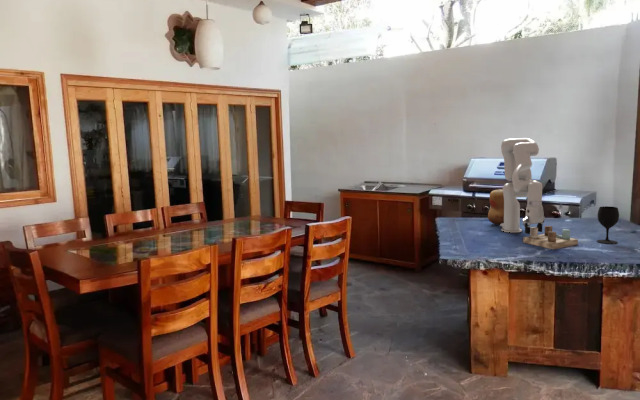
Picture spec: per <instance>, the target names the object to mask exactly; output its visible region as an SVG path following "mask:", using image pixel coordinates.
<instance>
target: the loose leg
mask: <svg viewBox="0 0 640 400" xmlns="http://www.w3.org/2000/svg"><path fill="white" fill-rule="evenodd" d="M538 235H539V231H538V227H537V226H532V227H531V226H530V234H529V236H530V238H531V239H538Z"/></svg>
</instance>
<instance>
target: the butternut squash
mask: <svg viewBox="0 0 640 400" xmlns="http://www.w3.org/2000/svg"><path fill="white" fill-rule="evenodd" d="M489 205H490V206H489V207H490V208H489V210H488V214H487V219H488V221H489V222H491V223H492V224H493V225H495V224H497V225H496V226H500V225H499V224H501V223H504V196H503V188H502V189H500V188H499V189H494V190H492V191H491V192H490V193H489Z"/></svg>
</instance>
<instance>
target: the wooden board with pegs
mask: <svg viewBox="0 0 640 400" xmlns="http://www.w3.org/2000/svg"><path fill="white" fill-rule="evenodd" d="M556 234H557V232H556V231H553V226H551V225H545V226H544V233H543V234H538V239H531V238H530V235H529V236H523V237H522V238H523V239H522V243H524V244H529V245H532V246H538V247H541V248H546V249H550V250H557V249H561V248H567V247H571V246H573V247H574V246H577V245H579V244H578V243H579V239H578V238H574V237H572V238H571V237H570V239H562V238H559V237H556Z"/></svg>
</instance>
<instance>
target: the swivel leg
mask: <svg viewBox="0 0 640 400" xmlns="http://www.w3.org/2000/svg"><path fill="white" fill-rule="evenodd" d="M561 232H562V233H561V234H558V233H556V237H559V238H562V239H570V238H571V229H567V228H566V229H565V228H563V229H562V231H561Z"/></svg>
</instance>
